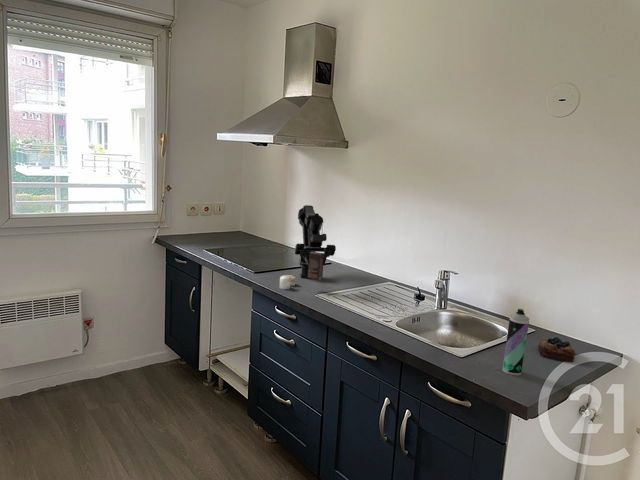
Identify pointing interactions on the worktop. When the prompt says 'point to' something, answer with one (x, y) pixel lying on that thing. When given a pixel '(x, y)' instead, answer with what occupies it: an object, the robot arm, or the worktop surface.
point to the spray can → (516, 343)
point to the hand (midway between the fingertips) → (316, 265)
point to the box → (315, 265)
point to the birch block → (291, 280)
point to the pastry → (556, 349)
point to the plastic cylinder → (285, 282)
